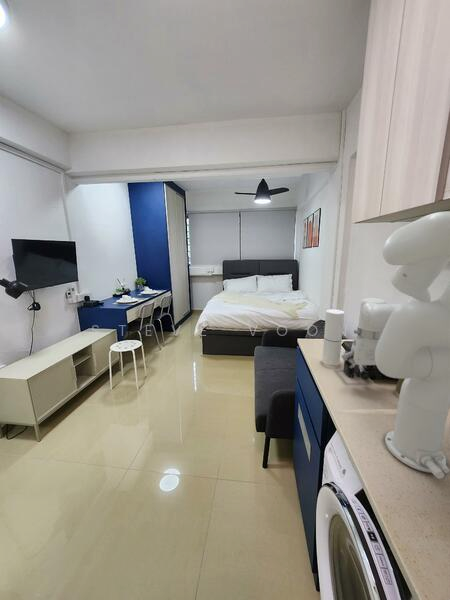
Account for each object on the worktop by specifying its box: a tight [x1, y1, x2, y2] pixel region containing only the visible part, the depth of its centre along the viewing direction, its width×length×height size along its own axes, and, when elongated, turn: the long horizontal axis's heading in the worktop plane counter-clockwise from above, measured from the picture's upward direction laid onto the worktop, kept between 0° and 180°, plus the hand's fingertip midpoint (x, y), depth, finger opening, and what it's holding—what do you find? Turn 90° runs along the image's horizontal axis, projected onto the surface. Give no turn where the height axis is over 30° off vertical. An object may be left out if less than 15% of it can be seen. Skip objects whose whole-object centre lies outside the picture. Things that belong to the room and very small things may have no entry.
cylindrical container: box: [321, 308, 345, 367], centre depth 106 cm, size 7×7×25 cm
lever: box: [358, 365, 371, 381], centre depth 92 cm, size 13×3×3 cm
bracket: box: [342, 345, 361, 378], centre depth 97 cm, size 10×9×13 cm
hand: (363, 376), depth 89 cm, fingers open, 9 cm apart
